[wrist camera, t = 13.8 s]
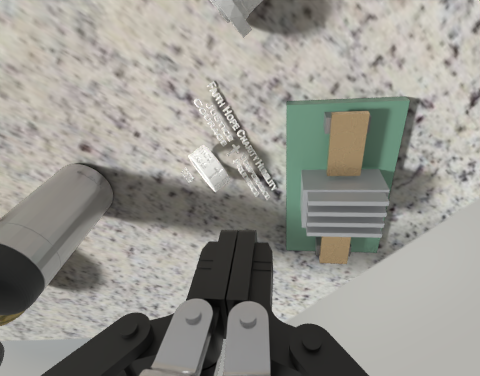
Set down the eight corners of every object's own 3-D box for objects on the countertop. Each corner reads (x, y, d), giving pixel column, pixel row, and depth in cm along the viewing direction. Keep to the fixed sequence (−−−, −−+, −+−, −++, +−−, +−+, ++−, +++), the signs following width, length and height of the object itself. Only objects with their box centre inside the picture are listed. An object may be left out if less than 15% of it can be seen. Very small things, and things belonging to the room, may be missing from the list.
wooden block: (358, 172, 39) (360, 175, 38) (326, 172, 40) (326, 176, 39) (368, 110, 35) (369, 113, 34) (331, 112, 35) (332, 114, 35)
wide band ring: (144, 125, 40) (149, 130, 34) (206, 82, 42) (220, 79, 36) (219, 223, 48) (233, 240, 42) (269, 183, 49) (289, 195, 43)
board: (374, 245, 50) (389, 289, 43) (286, 243, 52) (286, 284, 45) (405, 96, 37) (434, 122, 30) (286, 101, 39) (287, 127, 32)
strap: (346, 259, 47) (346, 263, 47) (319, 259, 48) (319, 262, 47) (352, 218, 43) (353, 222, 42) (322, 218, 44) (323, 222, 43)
